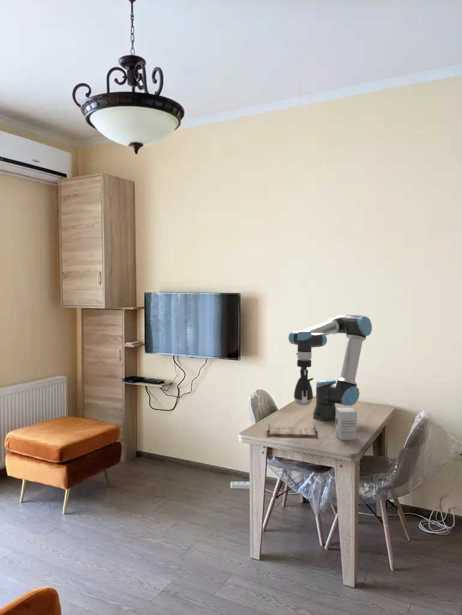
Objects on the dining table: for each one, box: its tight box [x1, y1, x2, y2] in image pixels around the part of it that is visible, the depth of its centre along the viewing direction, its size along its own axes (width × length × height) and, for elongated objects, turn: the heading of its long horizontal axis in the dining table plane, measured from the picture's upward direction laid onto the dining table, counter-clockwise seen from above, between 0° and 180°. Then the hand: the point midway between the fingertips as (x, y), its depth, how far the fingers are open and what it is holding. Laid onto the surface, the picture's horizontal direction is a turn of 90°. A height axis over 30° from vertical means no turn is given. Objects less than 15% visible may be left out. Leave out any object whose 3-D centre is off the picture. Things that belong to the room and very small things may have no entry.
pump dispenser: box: [293, 376, 314, 406], centre depth 259 cm, size 10×10×15 cm
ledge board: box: [267, 422, 319, 439], centre depth 260 cm, size 26×12×4 cm, turn 86°
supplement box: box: [335, 407, 358, 441], centre depth 254 cm, size 9×9×15 cm
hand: (303, 400), depth 259 cm, fingers closed on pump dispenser, 10 cm apart
